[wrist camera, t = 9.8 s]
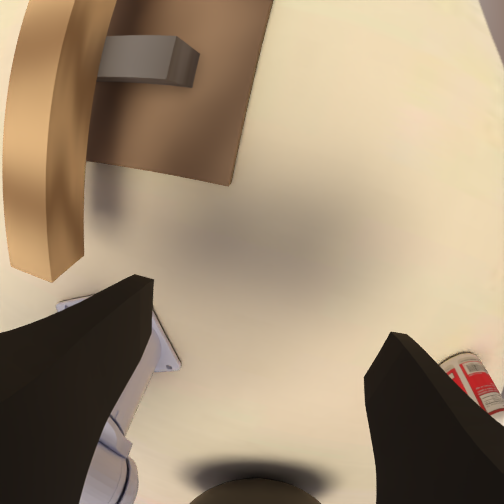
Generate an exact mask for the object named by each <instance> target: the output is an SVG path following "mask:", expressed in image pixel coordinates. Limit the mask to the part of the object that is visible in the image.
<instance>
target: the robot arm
mask: <svg viewBox="0 0 504 504" xmlns="http://www.w3.org/2000/svg"><path fill="white" fill-rule="evenodd" d="M153 286H154V279H150V278H146V277H143V276H139V275H136V274H134V275H132V276H130V277H128V278H126V279H124V280H122V281H120V282H118V283H116V284H114V285H112V286H110V287H108V288H106V289H104V290H103V291H101V292H99V293H97V294H95V295H91V296H87V297H82V298H77V299H72V300H67V301H62V302H59V303H57V304H56V309H57V311H58V312H57V313H55V314H53V315H51V316H48V317H46V318H44V319H41V320H38V321H36V322H33V323H31V324H28V325H25V326H22V327H19V328H16V329H13V330H10V331H6V332H2V333H0V504H133V503H134V501H135V498H136V495H137V491H138V483H139V481H138V471H137V466H136V464H135V462H134V461H133V459H132V458H130V457H129V456H128V455H129V452H130V450H131V447H132V445H133V444H132V443H131V442H130V441H129V440H127V439H126V438H125V436H126V433H127V431H128V429H129V426H130V424H131V422H132V420H133V417H134V415H135V413H136V410H137V408H138V406H139V403H140V401H141V399H142V397H143V394H144V392H145V390H146V388H147V386H148V383H149V381H150V379H151V377H152V374H153V372H165V371H178V370H180V368H181V363H180V361H179V359H178V358H177V356H176V354H175V352H174V350H173V348H172V347H171V345H170V343H169V341H168V339H167V337H166V335H165V333H164V332H163V330H162V328H161V326H160V324H159V322H158V320H157V318H156V316H155V314H154V312H153V310H152V307H153ZM169 365H170V366H169ZM364 393H365V406H366V412H367V417H368V423H369V429H370V434H371V440H372V446H373V452H374V458H375V465H376V482H377V498H376V504H504V426H503V425H501V424H500V423H499V422H498V421H496V420H495V419H494V418H493V417H492V416H490V415H489V414H488V413H487V412H486V411H484V410H483V409H482V408H481V407H480V406H479V405H478V404H477V403H476V402H474V401H473V400H472V399H471V398H470V397H469V396H468V395H467V394H466V393H465V392H464V391H463V390H462V389H461V388H460V387H459V386H458V385H457V384H456V383H455V382H454V381H453V380H452V379H451V378H450V377H449V375H448V374H447V373H446V372H445V371H444V370H443V369H442V368H441V367H440V366H439V365H438V364H437V363H436V362H435V361H434V360H433V359H432V358H431V357H430V356H429V355H428V353H427V352H426V351H425V350H424V349H423V348H422V347H421V346H420V345H418V344H417V343H416V342H415V341H414V340H413V339H412V338H411V337H409V336H408V335H407V334H402V333H396V332H390V334H389V336H388V338H387V339H386V341H385V343H384V345H383V346H382V348H381V350H380V352H379V353H378V355H377V357H376V358H375V360H374V362H373V363H372V365H371V367H370V368H369V370H368V371H367V373H366V375H365V376H364Z"/></svg>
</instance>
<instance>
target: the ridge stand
mask: <svg viewBox="0 0 504 504" xmlns="http://www.w3.org/2000/svg"><path fill="white" fill-rule="evenodd" d="M272 4H273V0H117V1H116V4H115V7H114V11H113V14H112V17H111V21H110V24H109V28H108V32H107V35H106V39H105V43H104V47H103V51H102V56H101V60H100V65H99V70H98V75H97V80H96V85H95V91H94V97H93V103H92V110H91V117H90V124H89V133H88V142H87V153H86V161H91V162H98V163H105V164H111V165H118V166H124V167H130V168H136V169H142V170H147V171H153V172H158V173H164V174H169V175H175V176H180V177H185V178H190V179H195V180H200V181H205V182H210V183H215V184H219V185H224V186H229V185H230V184H231V181H232V176H233V171H234V167H235V162H236V157H237V152H238V147H239V143H240V138H241V134H242V129H243V124H244V120H245V115H246V111H247V106H248V102H249V98H250V93H251V89H252V85H253V80H254V76H255V72H256V68H257V63H258V59H259V55H260V51H261V47H262V43H263V39H264V35H265V31H266V27H267V23H268V19H269V15H270V11H271V8H272Z"/></svg>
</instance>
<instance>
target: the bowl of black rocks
mask: <svg viewBox="0 0 504 504" xmlns="http://www.w3.org/2000/svg"><path fill="white" fill-rule="evenodd" d="M190 504H321V503H320V502H319V501H318V500H317V499H315V498H314V497H313V496H311V495H310V494H309V493H307V492H305V491H304V490H302V489H300V488H298V487H296V486H293V485H290V484H287V483H284V482H281V481H276V480H270V479H258V478H254V479H241V480H235V481H230V482H227V483H223V484H220V485H218V486H215V487H213V488H211V489H209V490H207V491H205V492H204V493H202V494H201V495H199V496H198V497H196V498H195V499H194V500H193V501H192V502H191V503H190Z"/></svg>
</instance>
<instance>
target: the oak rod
mask: <svg viewBox="0 0 504 504" xmlns="http://www.w3.org/2000/svg"><path fill="white" fill-rule="evenodd" d="M116 1H117V0H29V3H28V6H27V9H26V13H25V16H24V19H23V23H22V26H21V30H20V33H19V37H18V41H17V46H16V50H15V54H14V59H13V64H12V69H11V75H10V81H9V87H8V94H7V102H6V111H5V121H4V135H3V201H4V215H5V226H6V235H7V243H8V251H9V257H10V264H11V267H14V268H16V269H18V270H21V271H23V272H26V273H28V274H31V275H33V276H36V277H38V278H41V279H43V280H46V281H49V282H51V283H52V282H54V281H55V280H56V279H57V278H58V277H59V276H60V275H62V274H63V273H64V272H65V271H66V270H67V269H69V268H70V267H71V266H72V265H73V264H74V263H76V262H77V261H78V260H79V259H80V258H82V257H83V256H84V224H83V220H84V182H85V165H86V153H87V142H88V133H89V124H90V117H91V110H92V103H93V97H94V91H95V85H96V80H97V75H98V70H99V65H100V60H101V56H102V51H103V47H104V43H105V39H106V35H107V32H108V28H109V24H110V21H111V17H112V14H113V11H114V7H115V4H116Z"/></svg>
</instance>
